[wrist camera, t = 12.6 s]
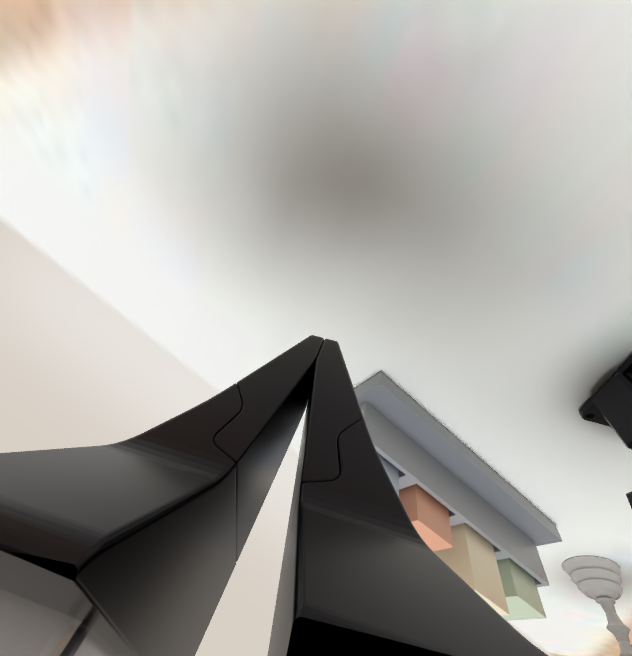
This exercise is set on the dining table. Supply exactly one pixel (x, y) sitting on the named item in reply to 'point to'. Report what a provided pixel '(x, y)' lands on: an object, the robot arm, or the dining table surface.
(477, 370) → the dining table surface
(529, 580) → the key sage
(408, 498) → the peach rectangular block
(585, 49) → the dining table surface
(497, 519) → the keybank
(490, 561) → the block
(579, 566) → the chalice
